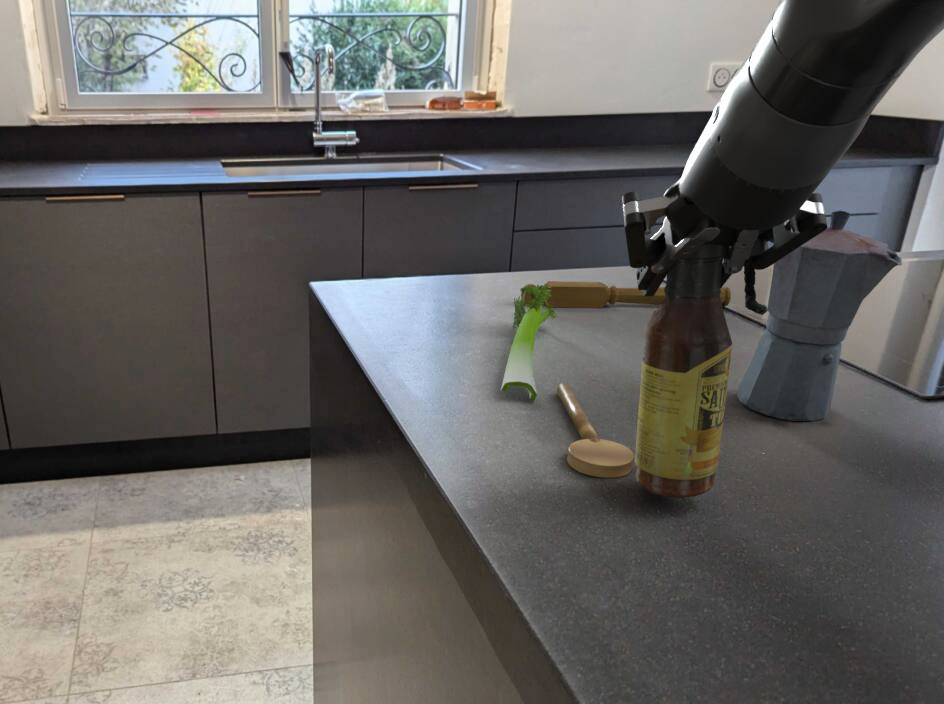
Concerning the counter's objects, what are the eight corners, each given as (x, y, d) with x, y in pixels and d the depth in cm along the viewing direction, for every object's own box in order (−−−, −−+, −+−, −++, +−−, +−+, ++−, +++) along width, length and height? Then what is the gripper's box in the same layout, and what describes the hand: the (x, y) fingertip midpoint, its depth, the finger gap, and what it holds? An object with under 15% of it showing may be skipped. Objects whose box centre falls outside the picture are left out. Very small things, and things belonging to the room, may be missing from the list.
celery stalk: (482, 412, 88) (507, 315, 113) (547, 427, 87) (557, 325, 112) (494, 361, 85) (517, 273, 110) (561, 376, 84) (569, 283, 109)
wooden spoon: (535, 392, 89) (536, 380, 88) (587, 393, 89) (589, 381, 88) (574, 477, 71) (576, 462, 70) (639, 478, 71) (642, 464, 70)
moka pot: (829, 441, 78) (891, 226, 69) (684, 392, 89) (722, 202, 81) (876, 418, 83) (938, 215, 74) (733, 375, 94) (773, 194, 86)
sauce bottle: (706, 508, 63) (736, 247, 55) (624, 493, 66) (640, 245, 58) (722, 473, 68) (751, 228, 60) (644, 460, 71) (662, 227, 63)
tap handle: (733, 289, 118) (524, 286, 119) (729, 309, 119) (522, 306, 120) (725, 283, 121) (520, 280, 121) (721, 304, 122) (518, 301, 123)
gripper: (660, 185, 47) (585, 328, 63) (913, 187, 47) (772, 330, 63) (647, 82, 50) (579, 244, 66) (887, 82, 49) (759, 246, 65)
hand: (674, 285), depth 64 cm, fingers closed on sauce bottle, 3 cm apart
